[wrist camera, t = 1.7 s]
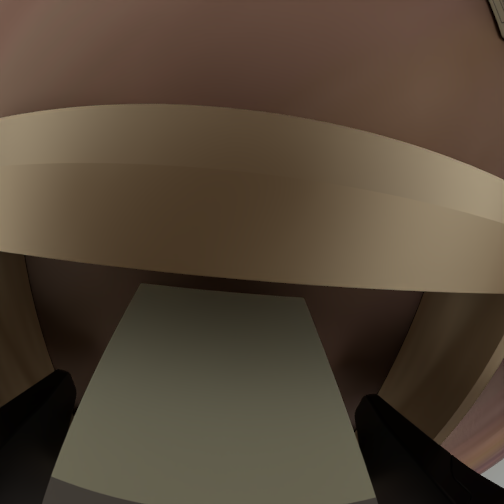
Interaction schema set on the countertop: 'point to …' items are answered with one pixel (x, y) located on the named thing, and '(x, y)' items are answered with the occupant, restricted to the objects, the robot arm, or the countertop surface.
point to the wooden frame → (260, 227)
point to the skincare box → (498, 13)
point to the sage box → (211, 409)
